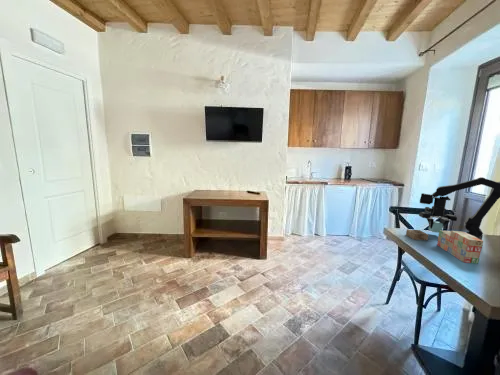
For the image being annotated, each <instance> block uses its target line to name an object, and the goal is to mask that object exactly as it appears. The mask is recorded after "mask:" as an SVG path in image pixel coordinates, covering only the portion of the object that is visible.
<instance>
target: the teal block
mask: <svg viewBox="0 0 500 375" xmlns="http://www.w3.org/2000/svg"><path fill="white" fill-rule="evenodd" d="M440 222H441V221H435V220H434V221H433V225H432V228H431V229H430V227H429V226H428V230H429V231H430V232H432V233H438V234H439V230H442V231H443V228H444V227H443V224H442V223H440Z"/></svg>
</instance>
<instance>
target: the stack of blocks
mask: <svg viewBox="0 0 500 375" xmlns="http://www.w3.org/2000/svg"><path fill="white" fill-rule="evenodd" d="M466 232H467V231H466ZM466 232H465V231H460V230H443V229H442V230H439V233H438V237H437V244H436V245H437V246H438V247H439V248H441V249H442V250H444V251H446V252H447V253H449V254H450V255H452V256H453V257H455V258H456V259H457V260H459V261H461V262H462V263H467V264H477V265H478V264H479V261H480V257H481V253H482V249H483V246H484V245H483V243H484V240H483V239H482V240H480V239H478V238H477V237H475V236H472V235H470V234H468V233H466ZM482 245H483V246H482Z"/></svg>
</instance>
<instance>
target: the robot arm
mask: <svg viewBox="0 0 500 375" xmlns="http://www.w3.org/2000/svg"><path fill="white" fill-rule="evenodd" d="M481 185H483V186H486V187H489V188H491V189H490V191H489V195H488V196H487V197H486V198H485V200H484V201H483V203H481V205H480V206H479V207H478V209H477V210H476V212H475V213H474V214H473V215H472V216H470V215H468V216H467V217H466V219H465V220H464V221H463V223H464V224H463V225H464V228H465V230H467V231H466V233H468V234H470V235H472V236H475V237H477V238H478V239H480V240H483V236H484V233H483V231H482V229H481V228H480V226H481V224H482V221H483V219H484V218H485V216H487V214H488V213H489V211H490V210H491V209H492V208H493V207H494V205H495V204H496V203H497V201H498V200H499V199H500V181H495V180H491V179H488V178H485V177H481V176H480V177H478V178H474V179H471V180H467V181H463V182H460V183H456V184H450V185H442V186H438V187H437V188H436V190H435V191H434V192H433V193H431V194H429V193H420V194H421V195H420V198H419V204H424V205H431V204H433V205H432V206H431V208H430V206H425V207H424V211H420V212H419V213H418V216H419V218H423V219H426V221H427V224H428V228H429V227H430V229H431V228H432V225H433V221H435V219H433V218H437V219H440V221H439V222H440V223H442V224H443V228H444V227H445V226H446V225H447V224H448V223H450V222H451V221H453V222H457V221H458V217H457V216H456V215H453V214H450V213H449V214H448V213H446V214H445V211H447V208H446V204H447V201H451V198H450V197H449V196H448V195H450V194H452V193H454V192H456V191H461V190H465V189H469V188H473V187H477V186H481ZM483 246H484V245H482V247H483Z"/></svg>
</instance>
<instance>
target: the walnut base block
mask: <svg viewBox="0 0 500 375" xmlns="http://www.w3.org/2000/svg"><path fill="white" fill-rule="evenodd" d="M405 232H406V234H405V235H406V236H407V237H409V238H410V239H412V240H416V241H417V240H418V241H428V240H429V234H428V233H426V232H424V231H423V230H420V229H408V228H407V229H406V231H405Z"/></svg>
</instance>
